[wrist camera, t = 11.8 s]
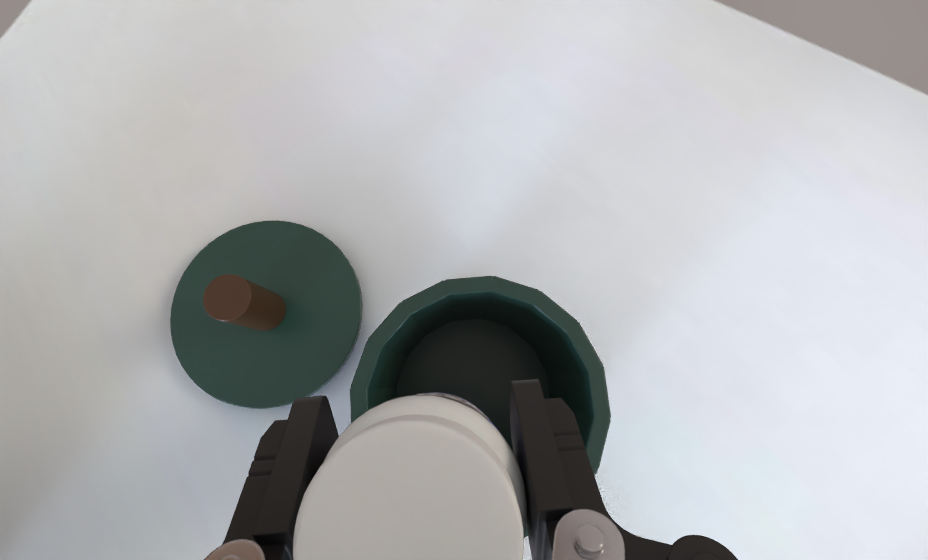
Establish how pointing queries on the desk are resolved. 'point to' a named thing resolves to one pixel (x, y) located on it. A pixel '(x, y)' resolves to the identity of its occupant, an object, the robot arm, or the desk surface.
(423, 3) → the desk surface
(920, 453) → the desk surface
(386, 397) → the tin
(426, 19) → the desk surface
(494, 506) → the pill bottle
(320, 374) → the lid
